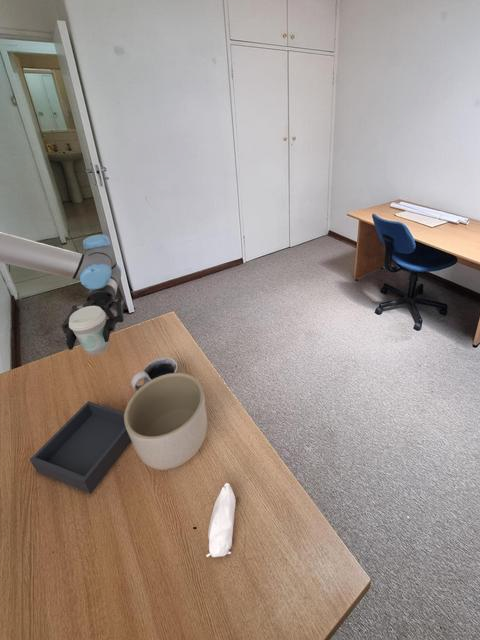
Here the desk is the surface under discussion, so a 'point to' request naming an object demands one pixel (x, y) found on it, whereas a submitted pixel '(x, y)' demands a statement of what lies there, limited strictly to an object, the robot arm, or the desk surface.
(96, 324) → the coffee cup
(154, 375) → the mug
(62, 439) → the bin
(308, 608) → the desk surface
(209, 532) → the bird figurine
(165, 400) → the planter
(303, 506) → the desk surface
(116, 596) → the desk surface
